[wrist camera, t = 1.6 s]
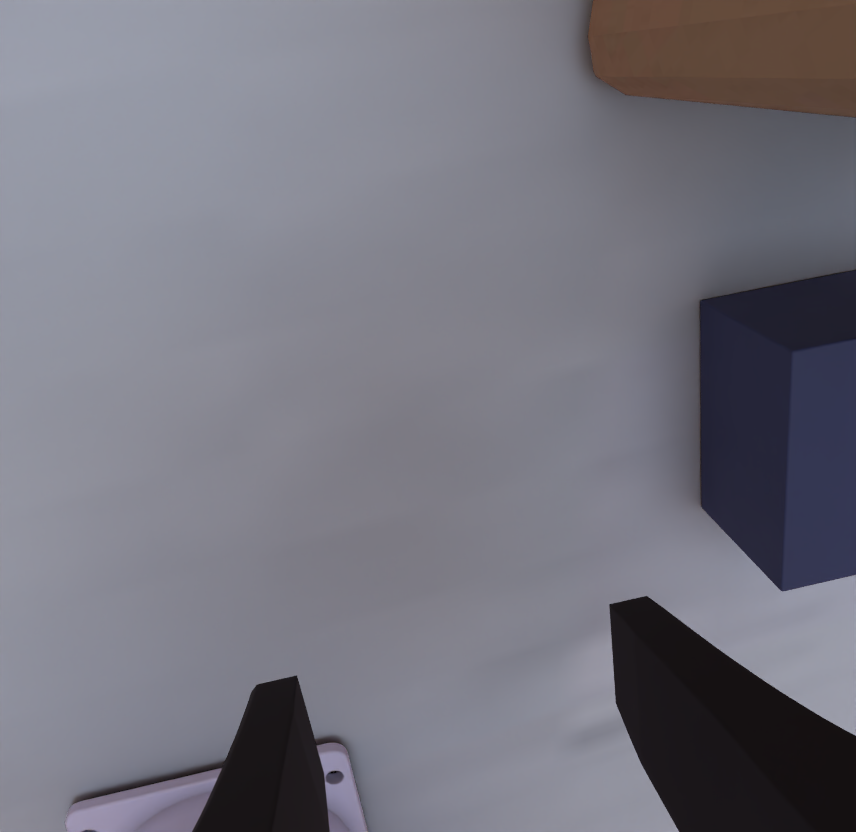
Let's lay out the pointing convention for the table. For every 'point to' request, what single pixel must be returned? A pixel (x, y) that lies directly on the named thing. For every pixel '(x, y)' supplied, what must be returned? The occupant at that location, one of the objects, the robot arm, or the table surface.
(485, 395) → the table surface
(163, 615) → the table surface
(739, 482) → the navy block
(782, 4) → the wooden block
